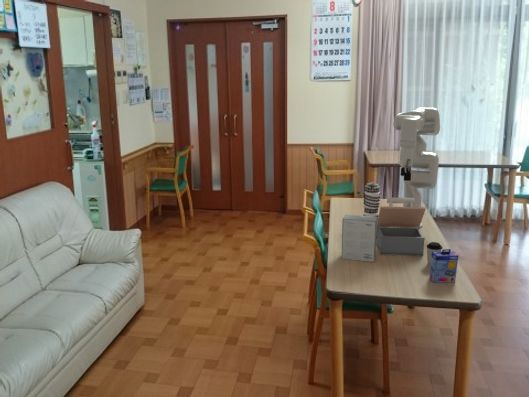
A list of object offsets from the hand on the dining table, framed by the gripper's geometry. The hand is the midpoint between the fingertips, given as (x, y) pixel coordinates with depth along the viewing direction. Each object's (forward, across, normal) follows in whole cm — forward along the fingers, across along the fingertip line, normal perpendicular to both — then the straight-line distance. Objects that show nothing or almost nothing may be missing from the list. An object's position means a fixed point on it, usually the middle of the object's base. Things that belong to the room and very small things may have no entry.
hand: (405, 178), depth 250 cm
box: (+34, +9, -2) cm, 35 cm away
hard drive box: (+34, +22, -23) cm, 47 cm away
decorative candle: (+35, -26, -13) cm, 46 cm away
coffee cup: (+34, +27, +10) cm, 45 cm away
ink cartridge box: (+34, +44, +10) cm, 57 cm away
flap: (+19, +6, -2) cm, 20 cm away
